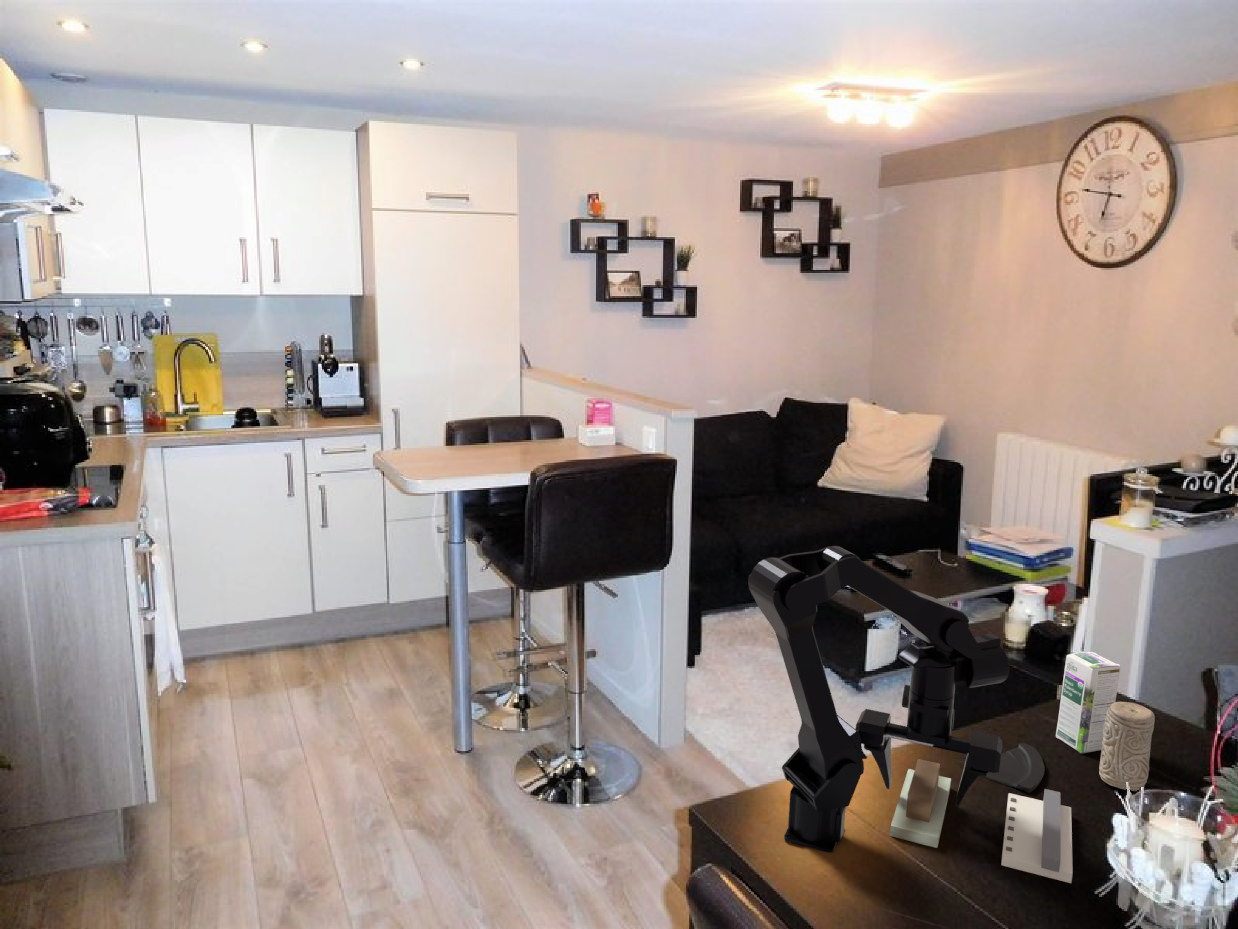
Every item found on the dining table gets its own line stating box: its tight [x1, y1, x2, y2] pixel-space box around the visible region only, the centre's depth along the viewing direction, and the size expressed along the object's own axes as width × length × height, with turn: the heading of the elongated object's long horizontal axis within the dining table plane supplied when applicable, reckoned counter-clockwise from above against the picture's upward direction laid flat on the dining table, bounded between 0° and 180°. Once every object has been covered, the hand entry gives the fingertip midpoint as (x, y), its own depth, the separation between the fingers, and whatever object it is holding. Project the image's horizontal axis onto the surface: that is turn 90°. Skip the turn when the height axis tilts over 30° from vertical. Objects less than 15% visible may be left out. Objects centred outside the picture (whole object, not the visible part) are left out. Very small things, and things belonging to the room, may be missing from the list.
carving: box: [1098, 701, 1156, 792], centre depth 135 cm, size 6×8×12 cm
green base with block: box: [889, 758, 952, 849], centre depth 128 cm, size 6×16×5 cm, turn 155°
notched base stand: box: [1001, 788, 1074, 884], centre depth 122 cm, size 8×17×3 cm, turn 155°
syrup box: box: [1055, 651, 1121, 754], centre depth 146 cm, size 6×6×14 cm
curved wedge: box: [981, 741, 1045, 794], centre depth 140 cm, size 8×14×2 cm, turn 137°
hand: (922, 795), depth 128 cm, fingers open, 9 cm apart
